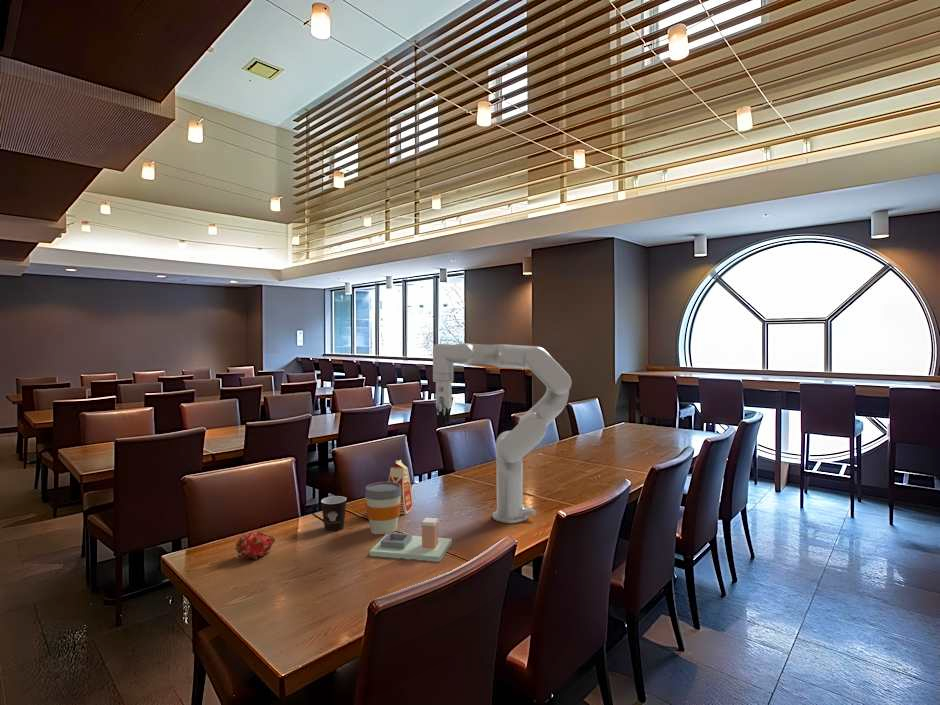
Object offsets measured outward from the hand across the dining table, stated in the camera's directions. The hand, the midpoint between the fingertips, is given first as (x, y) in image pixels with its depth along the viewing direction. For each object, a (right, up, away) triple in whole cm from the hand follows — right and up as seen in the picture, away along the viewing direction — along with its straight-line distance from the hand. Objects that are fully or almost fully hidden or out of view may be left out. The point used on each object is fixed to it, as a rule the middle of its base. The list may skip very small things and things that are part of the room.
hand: (443, 424), depth 185 cm
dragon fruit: (-55, -36, -32) cm, 73 cm away
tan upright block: (-3, -34, -29) cm, 45 cm away
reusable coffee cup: (-20, -35, -11) cm, 42 cm away
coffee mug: (-39, -35, -9) cm, 53 cm away
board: (-8, -35, -28) cm, 46 cm away
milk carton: (-18, -35, +9) cm, 40 cm away
